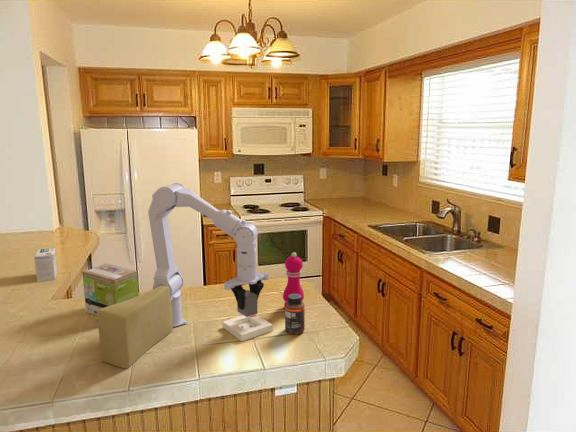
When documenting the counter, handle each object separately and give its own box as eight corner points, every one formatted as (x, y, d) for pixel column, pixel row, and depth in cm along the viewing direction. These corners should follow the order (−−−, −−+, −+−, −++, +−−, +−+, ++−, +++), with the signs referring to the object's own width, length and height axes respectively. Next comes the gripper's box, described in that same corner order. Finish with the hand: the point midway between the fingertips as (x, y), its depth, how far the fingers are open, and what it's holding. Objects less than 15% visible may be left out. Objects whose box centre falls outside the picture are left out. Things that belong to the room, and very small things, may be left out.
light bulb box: (39, 274, 178) (36, 249, 175) (57, 271, 180) (54, 247, 178) (36, 282, 168) (33, 256, 166) (55, 279, 171) (53, 254, 169)
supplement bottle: (299, 324, 134) (300, 291, 131) (307, 333, 128) (308, 298, 126) (282, 327, 132) (282, 293, 129) (289, 336, 126) (289, 300, 124)
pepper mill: (301, 313, 142) (302, 256, 138) (280, 311, 143) (281, 254, 139) (305, 304, 149) (306, 250, 145) (285, 303, 150) (285, 248, 146)
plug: (246, 317, 126) (245, 297, 125) (237, 311, 130) (237, 292, 129) (257, 313, 129) (257, 293, 127) (248, 308, 133) (248, 289, 131)
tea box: (84, 313, 141) (80, 270, 138) (110, 302, 149) (106, 262, 146) (116, 323, 134) (113, 278, 131) (141, 311, 143) (138, 269, 140)
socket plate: (241, 341, 123) (241, 334, 122) (222, 327, 131) (222, 320, 131) (272, 330, 130) (272, 323, 129) (252, 318, 138) (252, 311, 138)
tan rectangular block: (159, 327, 132) (156, 281, 128) (183, 333, 127) (181, 286, 124) (99, 361, 112) (94, 308, 109) (126, 370, 108) (122, 316, 105)
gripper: (232, 272, 119) (233, 317, 121) (274, 262, 127) (274, 304, 130) (220, 266, 124) (221, 309, 127) (260, 257, 133) (261, 297, 136)
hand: (247, 306), depth 129 cm, fingers closed on plug, 4 cm apart
